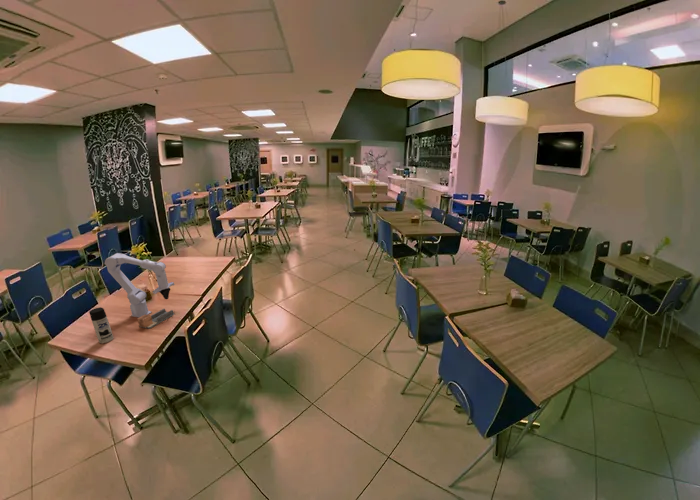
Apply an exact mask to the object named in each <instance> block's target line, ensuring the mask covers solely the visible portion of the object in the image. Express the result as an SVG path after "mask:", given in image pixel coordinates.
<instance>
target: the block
mask: <svg viewBox="0 0 700 500" xmlns="http://www.w3.org/2000/svg"><path fill="white" fill-rule="evenodd" d="M136 318H137V322H138V327H139V326H141V327H140V328H143V327H147V326H149V325H151V324H153V321H152V318H151V315H150V314H148V315H143V316H141V317H136Z"/></svg>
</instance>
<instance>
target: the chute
mask: <svg viewBox="0 0 700 500" xmlns="http://www.w3.org/2000/svg"><path fill="white" fill-rule="evenodd" d="M150 316H151V318H152V321H153V324H151V325H149V326H147V327H141V326H139V325H138V327H139V328H144V329H149V330H150V329H152V328H153V327H156V326H158V325H159V324H161V323H163V322H164V321H165V320H168V319H169V318H170V317H173V316H175V312H174V310H173V309H171V310H169V311H167V310H166V308H162V309H160V310H159V311H157V312H155V313H153V314H151V315H150Z"/></svg>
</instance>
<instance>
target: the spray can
mask: <svg viewBox="0 0 700 500" xmlns="http://www.w3.org/2000/svg"><path fill="white" fill-rule="evenodd" d="M88 313H89V316H90V319H91V323H92V325H93V329H94V330H95V335H96V337H97V341H98V343H99V344H107V343H109V342H112V341H113V340H114V335H113V331H112V328H111V325H110V323H109V318H108V316H107V313H106V311H105V308H103V307H101V306H100V307H96V308H93V309H90V310H89V312H88Z"/></svg>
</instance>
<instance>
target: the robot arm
mask: <svg viewBox="0 0 700 500" xmlns="http://www.w3.org/2000/svg"><path fill="white" fill-rule="evenodd" d="M123 264H131V265H135V266H140V268H141V269H145V270H149V271H152V273H154V275H155V278H156V283H157V286H158V287H157V288H155V289H154V290H152V294H154V295H156V294H158V293H159V294H160V295H161V296H162V297H163V299H164V300H168V299H169V297H170V295H169V294H170V292H171V287H172V286H175V282H172V281H171V282H169V281H168V277H167V273H166V268H167V265H166V263H164V262H163V261H153V260H150V259H148V258H146V259H143V260H142V259H138V258H135V257H133V256H132V257H131V256H128V255H127V254H125V253H120V252H116V253H114V254H113V255H111V256H109V257H106V259H105V261H104V265H105V266H106V269H107V272H108V273H109V274H110V275H111V277H112V278H113V279H114V280H115V281H116V282H117V283H118V285H120V287H121V288H122V289H123V290H124V291H125V292H126V293H127V297H126V298H127V299H128V302H129V304H130V305H129V306H130V307H129V308H130V311H131V312H130V313H131V315H130V317H135V318H139V317H141V316H143V315H150V314H151V313H152V311H150V310H149V308H148V304H147V301H146V300H147V299H146V298H147V292H146V291H144V290H143V289H141V288H138V287H136V286H135V285H134V284H133V283H132V281H131V280H130V279H129V278H128V277H127V276H126V275H125V273H124V272H123V271H122V270H121V265H123Z"/></svg>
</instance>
